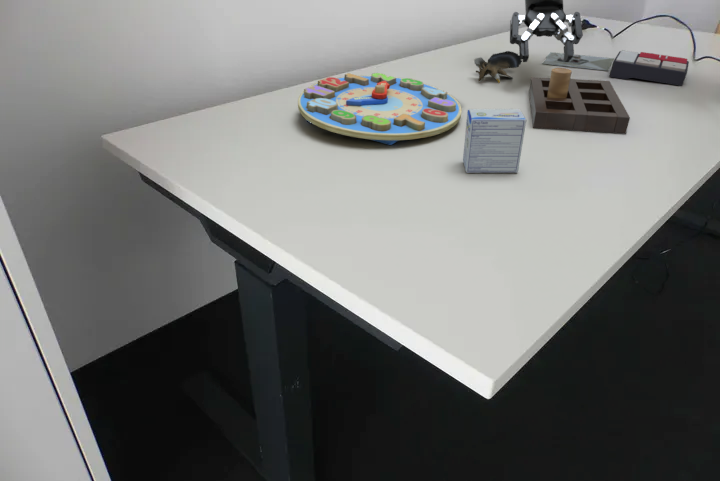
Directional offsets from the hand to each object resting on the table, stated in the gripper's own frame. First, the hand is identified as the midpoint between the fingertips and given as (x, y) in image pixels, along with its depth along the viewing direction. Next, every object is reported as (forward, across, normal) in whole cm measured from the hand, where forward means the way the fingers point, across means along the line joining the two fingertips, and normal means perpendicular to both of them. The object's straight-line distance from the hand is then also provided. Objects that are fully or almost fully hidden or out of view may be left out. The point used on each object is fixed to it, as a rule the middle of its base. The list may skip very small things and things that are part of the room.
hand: (546, 60), depth 110 cm
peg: (+12, 0, -3) cm, 12 cm away
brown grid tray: (+13, +3, -3) cm, 13 cm away
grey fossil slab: (-14, +10, +24) cm, 29 cm away
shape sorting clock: (+16, -34, -6) cm, 38 cm away
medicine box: (+32, -17, -22) cm, 42 cm away
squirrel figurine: (-2, -8, +12) cm, 14 cm away
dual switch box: (-4, +27, +14) cm, 31 cm away
